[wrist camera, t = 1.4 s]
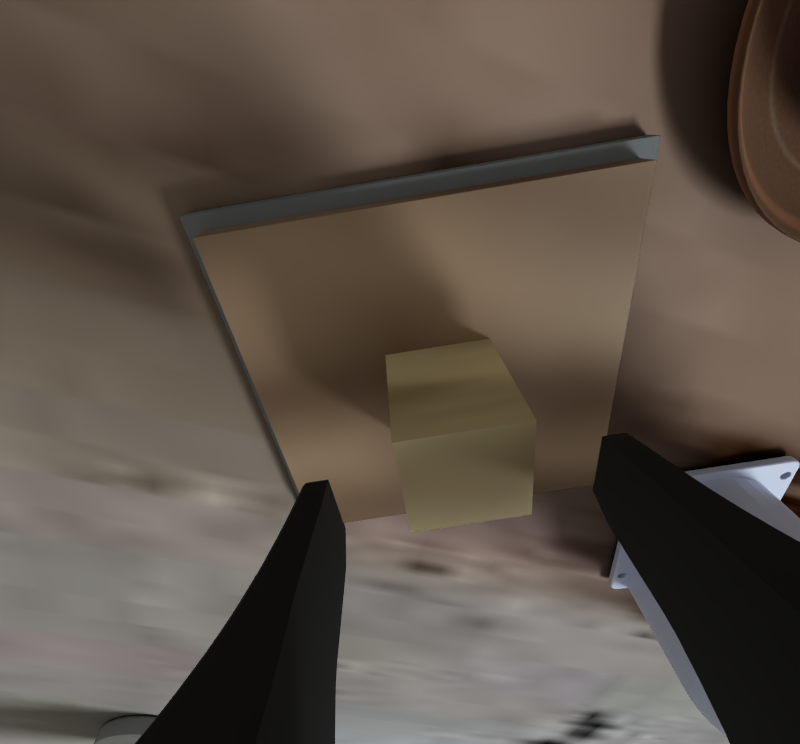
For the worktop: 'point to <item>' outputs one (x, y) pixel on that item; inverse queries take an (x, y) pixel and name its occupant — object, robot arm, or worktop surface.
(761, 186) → the cup and saucer
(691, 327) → the worktop surface
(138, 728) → the travel mug
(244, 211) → the mat
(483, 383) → the lid
